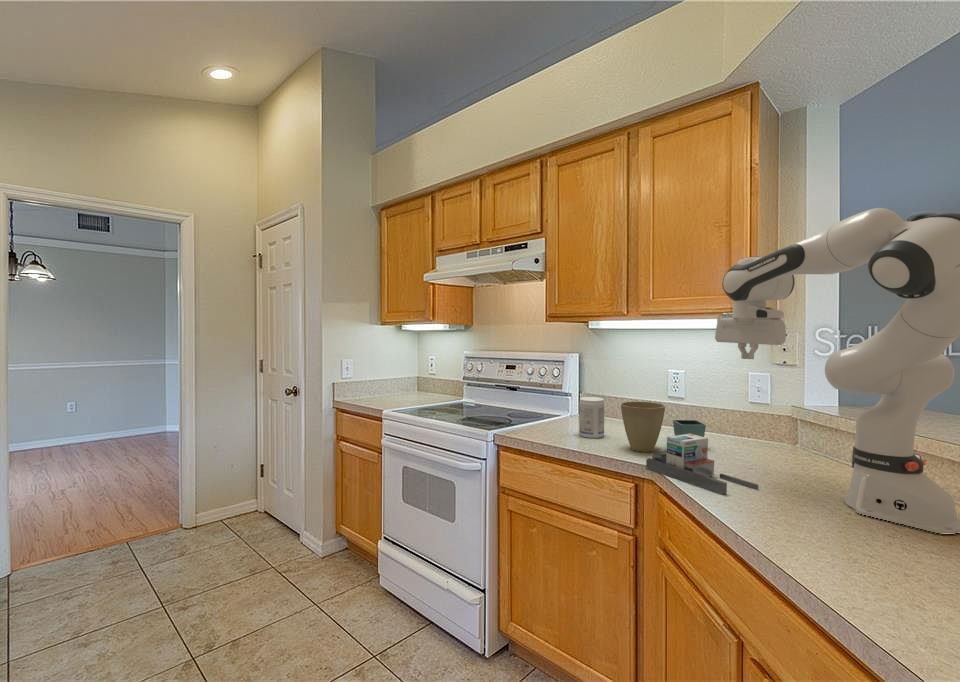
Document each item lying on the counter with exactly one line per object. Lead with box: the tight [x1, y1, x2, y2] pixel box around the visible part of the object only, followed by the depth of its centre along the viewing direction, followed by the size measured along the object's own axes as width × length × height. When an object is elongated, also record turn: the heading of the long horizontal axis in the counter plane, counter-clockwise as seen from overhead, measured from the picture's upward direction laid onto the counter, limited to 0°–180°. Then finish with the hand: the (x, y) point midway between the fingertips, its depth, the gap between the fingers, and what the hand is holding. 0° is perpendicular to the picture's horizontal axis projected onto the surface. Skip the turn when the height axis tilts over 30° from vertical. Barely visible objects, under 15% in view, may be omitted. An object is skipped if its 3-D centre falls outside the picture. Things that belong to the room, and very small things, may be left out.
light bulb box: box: [666, 434, 709, 469], centre depth 149 cm, size 11×7×11 cm, turn 118°
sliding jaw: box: [684, 457, 715, 477], centre depth 144 cm, size 3×9×4 cm, turn 119°
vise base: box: [645, 449, 759, 496], centre depth 144 cm, size 28×13×5 cm, turn 29°
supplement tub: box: [578, 396, 605, 439], centre depth 195 cm, size 10×10×15 cm
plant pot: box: [620, 400, 666, 453], centre depth 175 cm, size 15×15×16 cm
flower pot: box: [672, 419, 707, 437], centre depth 179 cm, size 9×9×9 cm
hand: (747, 358), depth 149 cm, fingers closed
